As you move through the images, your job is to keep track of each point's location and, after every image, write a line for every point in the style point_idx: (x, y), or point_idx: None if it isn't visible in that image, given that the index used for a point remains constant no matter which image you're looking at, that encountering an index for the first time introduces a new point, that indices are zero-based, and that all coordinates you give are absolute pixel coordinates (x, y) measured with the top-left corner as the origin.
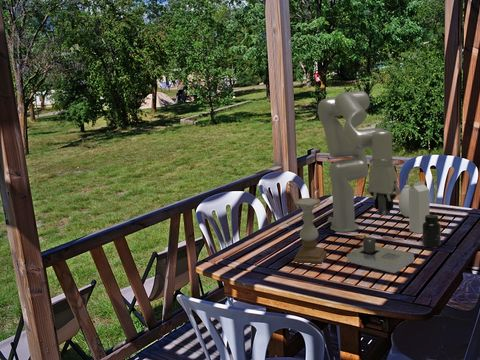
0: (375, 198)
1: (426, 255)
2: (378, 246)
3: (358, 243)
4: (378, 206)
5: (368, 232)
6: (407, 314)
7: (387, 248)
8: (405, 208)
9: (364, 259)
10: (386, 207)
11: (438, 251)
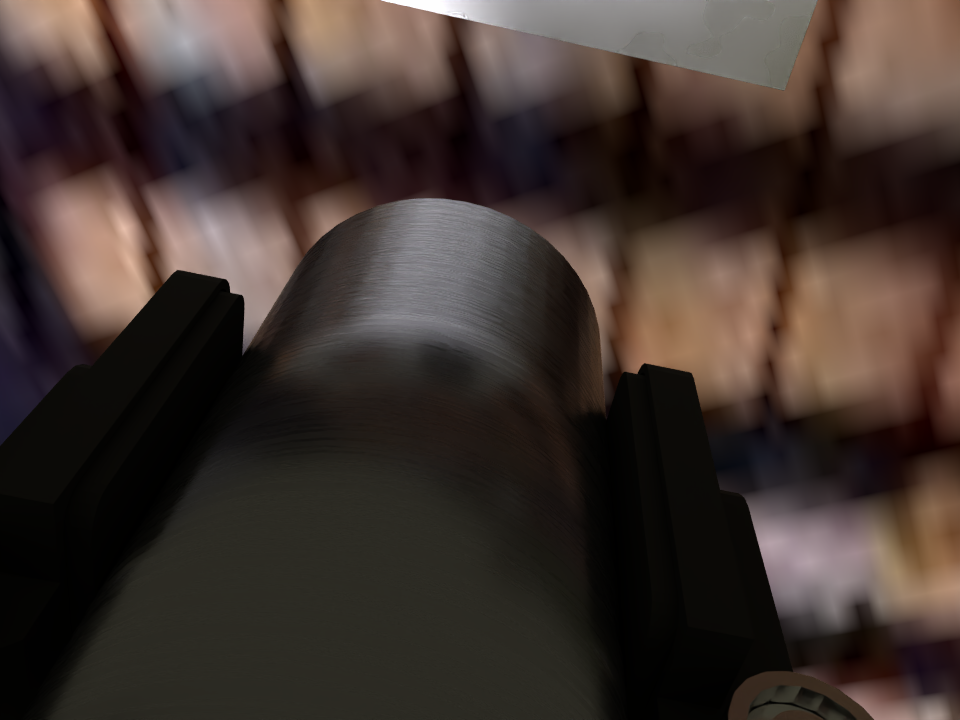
0: (741, 710)
1: (49, 176)
2: (586, 44)
3: (946, 310)
4: (555, 390)
5: (887, 647)
6: None
7: (429, 2)
8: None
9: None
10: (240, 372)
11: (12, 333)
